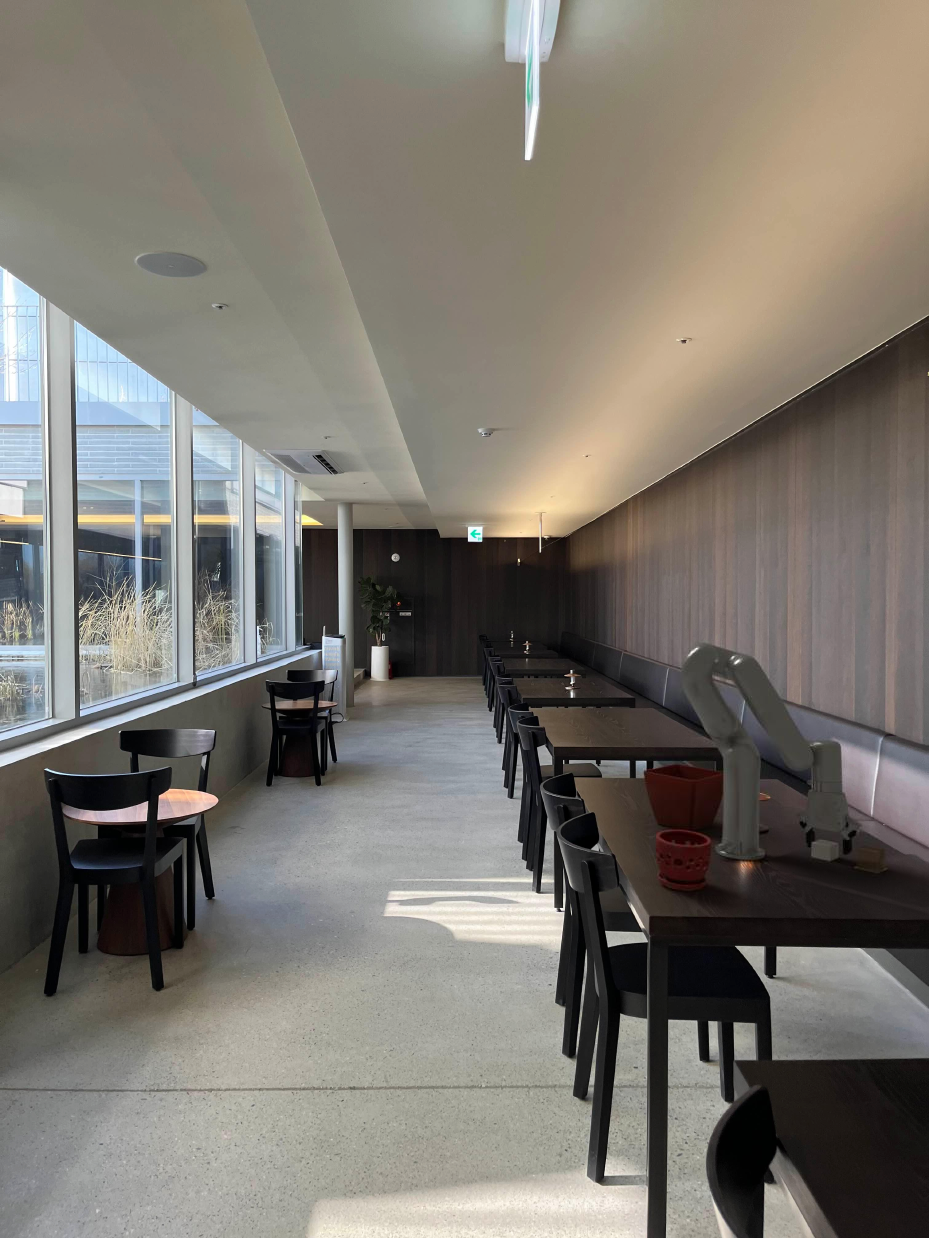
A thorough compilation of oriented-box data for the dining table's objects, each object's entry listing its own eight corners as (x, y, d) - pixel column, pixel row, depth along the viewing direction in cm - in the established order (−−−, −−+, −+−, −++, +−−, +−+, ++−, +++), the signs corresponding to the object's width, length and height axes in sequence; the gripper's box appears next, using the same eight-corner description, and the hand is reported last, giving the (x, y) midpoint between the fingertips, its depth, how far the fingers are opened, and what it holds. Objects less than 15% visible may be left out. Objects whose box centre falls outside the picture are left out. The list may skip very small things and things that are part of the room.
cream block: (829, 865, 213) (830, 846, 213) (811, 861, 217) (811, 842, 217) (838, 861, 216) (838, 843, 216) (820, 857, 220) (820, 839, 220)
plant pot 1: (694, 836, 240) (694, 780, 240) (641, 823, 254) (641, 770, 254) (728, 825, 253) (728, 772, 252) (675, 814, 267) (676, 763, 267)
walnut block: (877, 872, 204) (877, 852, 204) (856, 867, 208) (857, 848, 208) (885, 868, 207) (885, 848, 207) (865, 863, 211) (865, 844, 211)
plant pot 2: (644, 885, 196) (645, 836, 196) (673, 873, 205) (673, 826, 205) (693, 898, 186) (693, 847, 186) (720, 885, 196) (721, 836, 196)
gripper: (789, 784, 220) (791, 846, 220) (853, 793, 207) (855, 859, 207) (802, 780, 225) (804, 841, 225) (866, 788, 212) (867, 853, 212)
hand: (828, 849), depth 216 cm, fingers open, 9 cm apart
